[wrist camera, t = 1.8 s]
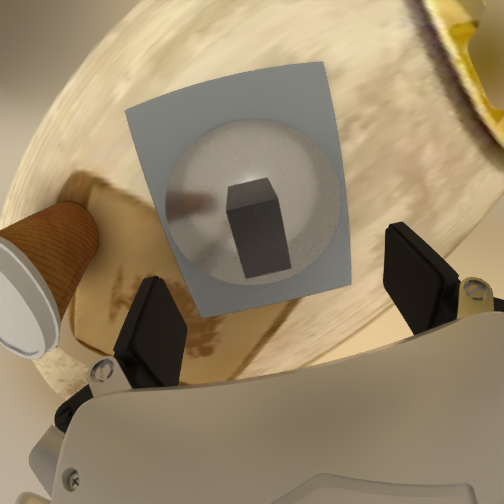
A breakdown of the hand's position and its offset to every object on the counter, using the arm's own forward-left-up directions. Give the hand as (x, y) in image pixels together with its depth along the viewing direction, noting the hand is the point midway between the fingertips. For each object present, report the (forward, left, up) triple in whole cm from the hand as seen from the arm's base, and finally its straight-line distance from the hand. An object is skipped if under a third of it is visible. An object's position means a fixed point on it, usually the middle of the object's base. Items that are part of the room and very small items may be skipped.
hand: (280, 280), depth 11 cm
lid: (0, 0, -11) cm, 11 cm away
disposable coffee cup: (+2, +17, -12) cm, 21 cm away
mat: (0, 0, -12) cm, 12 cm away
